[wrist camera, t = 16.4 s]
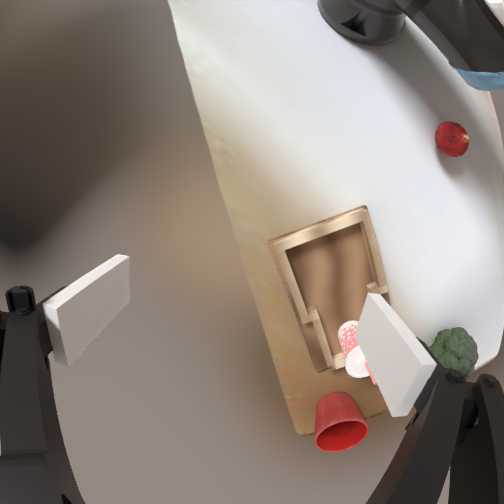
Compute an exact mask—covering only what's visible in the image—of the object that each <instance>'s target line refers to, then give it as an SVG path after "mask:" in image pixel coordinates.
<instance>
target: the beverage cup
mask: <svg viewBox="0 0 504 504" xmlns="http://www.w3.org/2000/svg"><path fill="white" fill-rule="evenodd" d="M358 323H359V322H358V321H354V320H353V321H348V322H346V323H344V324H343V325H342V326H341V327H340V329H339V331H338V337H339V341H340V344H341V348H342V351H343V355H344V358H345V368H346V370H347V372H348V374H349V375H351V376H352V377H357V378H362V377H367V376H369V375H370V377H371V379H372V381H373V384H374V385H376V384H377V382H376V380H375V378H374V376H373V374H372V371H371V369H370V367H369V365H368V363H367V361H366V359H365V357H364V355H363V353H362V351H361V349H360V346H359V344H358V342H357V340H356V338H355V336H354V334H355V331H356V328H357V325H358Z"/></svg>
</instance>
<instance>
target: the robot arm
mask: <svg viewBox="0 0 504 504" xmlns="http://www.w3.org/2000/svg"><path fill="white" fill-rule="evenodd" d="M318 8H319V11H320V13H321V15H322V16H323V18H324V19H325V21H326V22H327V23H328V24H329V25H330V26H331V27H332V28H333V29H335V30H336V31H337V32H339V33H340V34H342V35H343V36H345V37H347V38H349V39H351V40H354V41H356V42H359V43H363V44H368V45H383V44H387V43H390V42H391V41H393V40H394V39H395V38H396V37H397V36H398V35H399V34H400V33H401V32H402V30H403V28H404V24H405V17H406V15H407V16H408V17H409V18H410V19H411V20H412V21H413V22H414V23H415V24H416V25H417V26H418V27H419V28H420V29H421V30H422V31H423V32H424V34H425V35H426V36H427V37H428V38H429V39H430V40H431V41H432V42H433V43H434V44H435V45H436V47H437V48H438V49H439V50H440V51H441V52H442V53H443V55H444V56H445V57H446V58H447V59H448V61H449V64H450V65H451V66H452V67H453V68H454V69H455V70H457V72H458V73H459V74H460V75H461V77H462V78H463V79H464V80H465V82H466V83H467V84H468V85H470V86H471V87H473V88H475V89H477V90H481V91H495V90H501V89H504V0H318ZM5 295H6V300H7V305H8V309H9V312H2V311H0V440H1V456H0V504H85V502H84V500H83V498H82V496H81V494H80V492H79V489H78V487H77V484H76V481H75V478H74V475H73V472H72V469H71V466H70V463H69V460H68V456H67V453H66V449H65V445H64V441H63V437H62V433H61V429H60V425H59V420H58V415H57V410H56V405H55V399H54V393H53V387H52V379H51V371H50V363H49V359H48V354H49V353H50V352H51V351H52V350H53V354H54V358H55V361H56V362H57V363H60V364H62V365H64V366H67V367H70V366H71V365H72V364H73V363H74V361H75V360H76V359H77V358H78V357H79V356H80V355H81V353H82V352H83V351H84V350H85V349H86V348H87V347H88V346H89V345H90V343H91V342H92V341H93V340H94V339H95V338H96V337H97V336H98V335H99V334H100V333H101V332H102V331H103V329H104V328H105V327H106V326H107V325H108V324H109V323H110V322H111V321H112V320H113V318H115V317H116V316H117V314H118V313H119V312H120V311H121V310H122V309H123V308H124V307H125V306H126V305H127V304H128V303H129V302H130V256H125V255H119V254H117V255H116V256H114V257H113V258H111V259H109V260H108V261H106V262H105V263H103V264H101V265H100V266H98V267H97V268H95V269H94V270H92V271H90V272H89V273H87V274H86V275H84V276H83V277H81V278H80V279H78V280H77V281H75V282H74V283H72V284H71V285H68V286H65V287H62V288H60V289H59V290H57V291H56V292H55V293H53V294H51V295H50V297H47V298H45V299H44V300H42V301H41V302H40V303H38V304H37V305H36V303H35V298H34V292H33V289H32V288H31V287H29V286H15V287H12V288H10V289H9V290H7V292H6V293H5ZM354 336H355V338H356V340H357V342H358V344H359V346H360V349H361V351H362V353H363V355H364V357H365V359H366V361H367V363H368V365H369V367H370V369H371V371H372V374H373V376H374V378H375V380H376V382H377V384H378V386H379V389H380V391H381V393H382V395H383V397H384V400H385V402H386V404H387V406H388V409H389V411H390V413H391V415H392V417H398V416H407V415H408V413H409V412H410V410H411V409H412V407H413V405H414V407H415V408H416V410H417V412H416V413H415V415H414V417H413V418H412V419H411V421H410V422H409V424H408V425H407V427H406V428H405V430H407V432H406V434H405V436H404V438H403V440H402V442H401V444H400V446H399V448H398V450H397V452H396V454H395V456H394V458H393V460H392V461H391V463H390V465H389V467H388V469H387V471H386V472H385V474H384V476H383V477H382V479H381V481H380V482H379V484H378V485H377V487H376V489H375V490H374V492H373V493H372V495H371V497H370V498H369V500H368V501H367V503H366V504H437V502H438V499H439V497H440V494H441V491H442V488H443V485H444V482H445V479H446V476H447V473H448V470H449V467H450V487H449V501H448V504H504V393H503V390H502V387H501V385H500V383H499V381H498V380H497V379H496V378H495V377H493V376H492V375H489V374H481V375H480V376H479V377H478V379H477V381H476V382H475V383H471V382H466V379H465V377H464V376H463V375H462V374H461V373H460V372H459V371H457V370H455V369H452V368H444V367H443V366H442V364H441V363H440V362H439V360H438V359H437V358H436V357H435V355H433V353H432V352H431V350H429V348H428V347H427V345H426V344H425V343H424V342H423V341H422V340H420V339H419V338H418V337H415V336H414V334H413V333H412V332H411V331H410V329H409V328H408V327H407V326H406V324H405V323H404V322H403V321H402V320H401V318H400V317H399V316H398V315H397V314H396V312H395V311H394V310H393V309H392V308H391V307H390V305H389V304H388V303H387V302H386V301H385V300H384V298H383V297H382V296H381V295H380V294H375V293H368V294H367V297H366V301H365V304H364V307H363V310H362V313H361V316H360V319H359V323H358V325H357V328H356V331H355V334H354ZM477 422H478V423H477Z"/></svg>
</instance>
